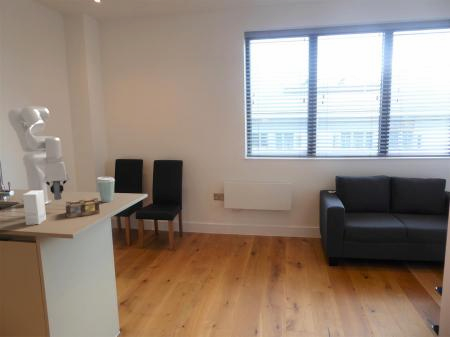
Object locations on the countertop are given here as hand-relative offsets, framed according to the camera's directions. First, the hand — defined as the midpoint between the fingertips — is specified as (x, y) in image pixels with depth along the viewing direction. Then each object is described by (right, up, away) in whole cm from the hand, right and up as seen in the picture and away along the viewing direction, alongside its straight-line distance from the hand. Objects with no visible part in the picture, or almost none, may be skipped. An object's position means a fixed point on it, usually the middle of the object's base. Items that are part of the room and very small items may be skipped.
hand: (57, 192), depth 175 cm
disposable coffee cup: (+20, -7, +21) cm, 30 cm away
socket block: (+16, -11, -3) cm, 20 cm away
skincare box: (-1, -14, -17) cm, 22 cm away
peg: (0, -4, +1) cm, 4 cm away
